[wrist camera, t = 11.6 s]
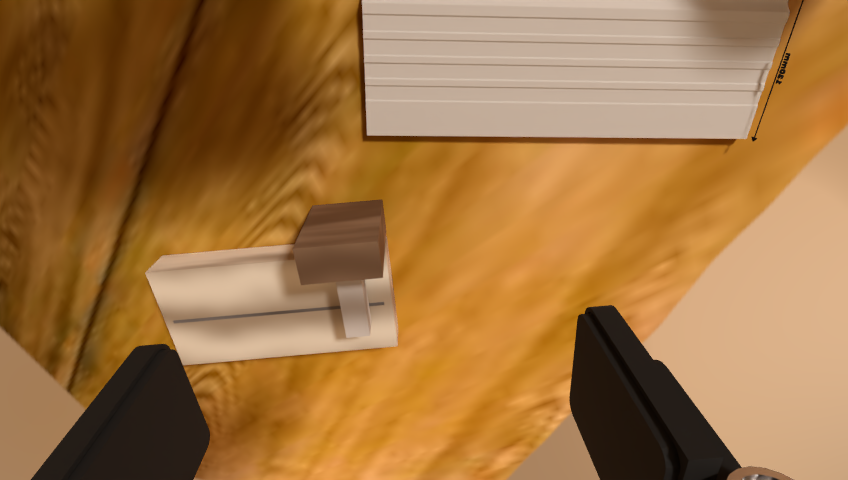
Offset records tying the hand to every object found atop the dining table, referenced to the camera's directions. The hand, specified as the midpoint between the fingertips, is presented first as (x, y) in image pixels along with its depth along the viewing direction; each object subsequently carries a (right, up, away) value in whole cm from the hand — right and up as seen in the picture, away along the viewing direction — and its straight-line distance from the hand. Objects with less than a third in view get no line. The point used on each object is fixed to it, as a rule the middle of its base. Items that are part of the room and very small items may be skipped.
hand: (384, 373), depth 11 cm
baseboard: (+12, +17, +24) cm, 32 cm away
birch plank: (-12, -2, +32) cm, 34 cm away
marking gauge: (-5, +2, +30) cm, 31 cm away
